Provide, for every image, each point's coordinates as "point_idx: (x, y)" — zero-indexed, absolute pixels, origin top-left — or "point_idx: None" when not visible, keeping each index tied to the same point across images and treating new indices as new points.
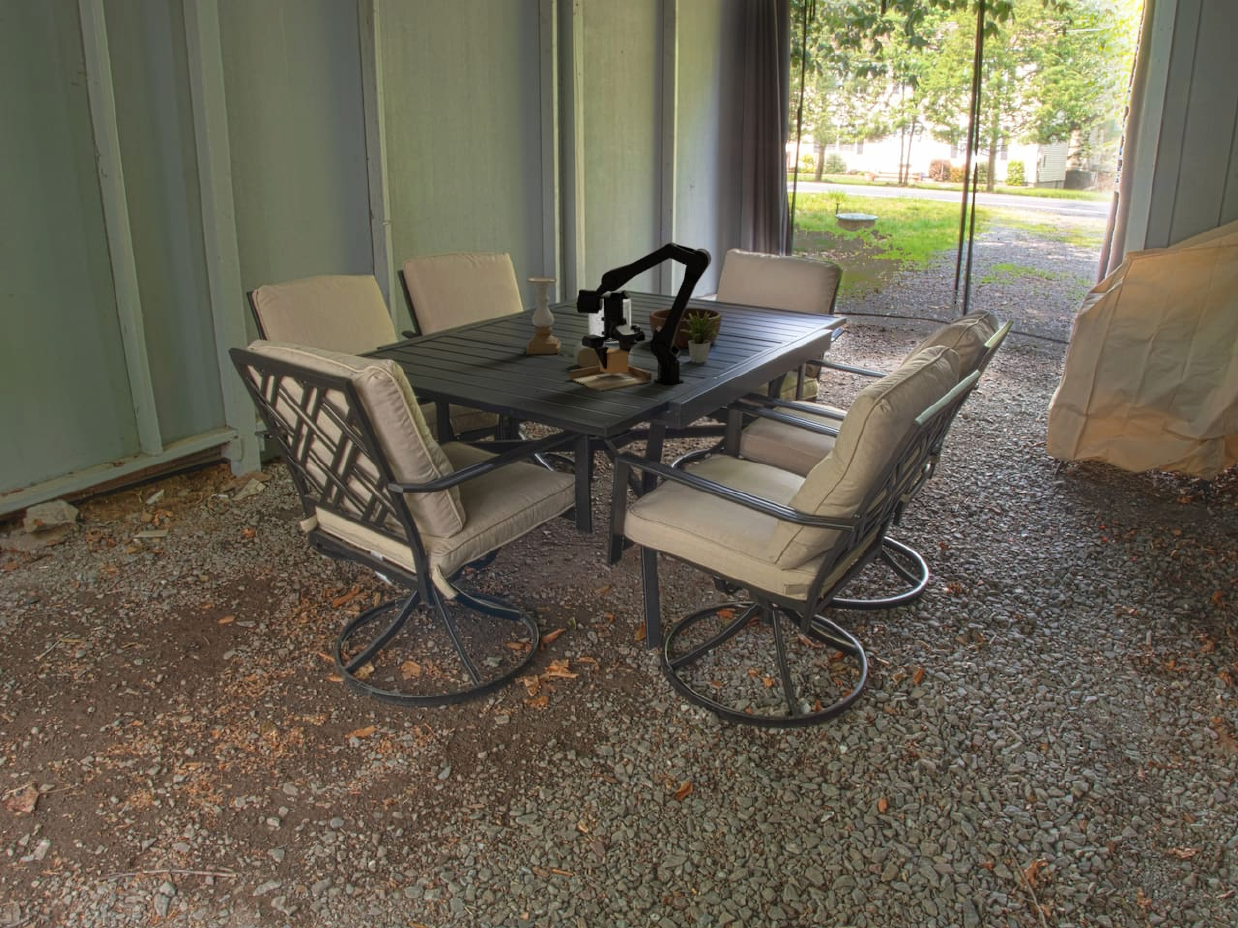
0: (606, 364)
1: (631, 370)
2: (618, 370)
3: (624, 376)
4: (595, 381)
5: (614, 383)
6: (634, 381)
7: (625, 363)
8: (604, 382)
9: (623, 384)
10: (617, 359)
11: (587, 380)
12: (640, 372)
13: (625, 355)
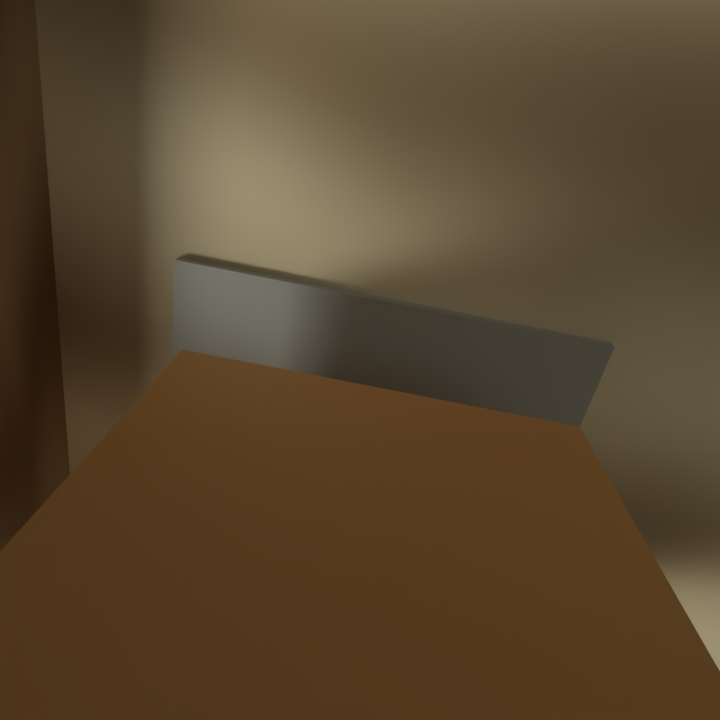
0: None
1: (24, 442)
2: (419, 427)
3: None
4: (714, 505)
5: (667, 217)
6: (307, 28)
7: (186, 474)
8: (694, 384)
9: (644, 12)
10: (466, 676)
11: (718, 597)
12: None
13: (40, 718)
